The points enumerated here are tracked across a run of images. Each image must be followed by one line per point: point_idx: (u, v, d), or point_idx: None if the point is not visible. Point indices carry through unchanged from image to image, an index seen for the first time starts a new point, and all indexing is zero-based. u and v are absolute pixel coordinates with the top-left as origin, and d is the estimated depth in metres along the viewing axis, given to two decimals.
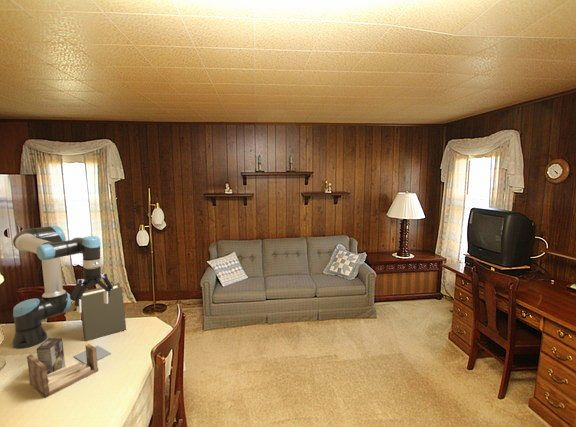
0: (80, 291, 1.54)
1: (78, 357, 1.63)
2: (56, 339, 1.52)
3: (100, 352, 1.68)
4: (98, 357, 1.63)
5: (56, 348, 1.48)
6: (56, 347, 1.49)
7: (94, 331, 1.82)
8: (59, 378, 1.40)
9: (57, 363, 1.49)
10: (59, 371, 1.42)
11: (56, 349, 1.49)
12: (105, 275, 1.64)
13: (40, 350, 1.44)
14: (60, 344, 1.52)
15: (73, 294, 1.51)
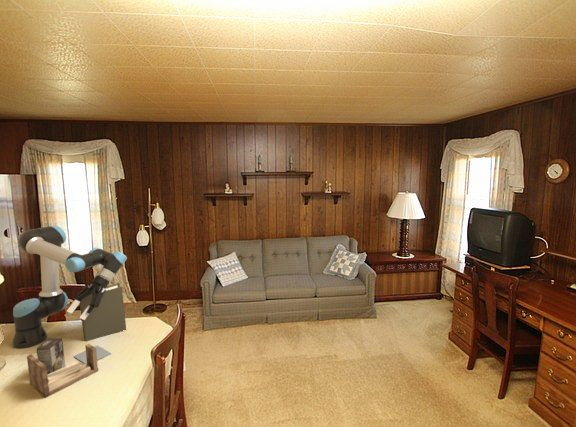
0: None
1: (78, 357, 1.63)
2: (56, 339, 1.52)
3: (100, 352, 1.68)
4: (98, 357, 1.63)
5: (56, 348, 1.48)
6: (56, 347, 1.49)
7: (94, 331, 1.82)
8: (59, 378, 1.40)
9: (57, 363, 1.49)
10: (59, 371, 1.42)
11: (56, 349, 1.49)
12: None
13: (40, 350, 1.44)
14: (60, 344, 1.52)
15: (98, 301, 1.57)
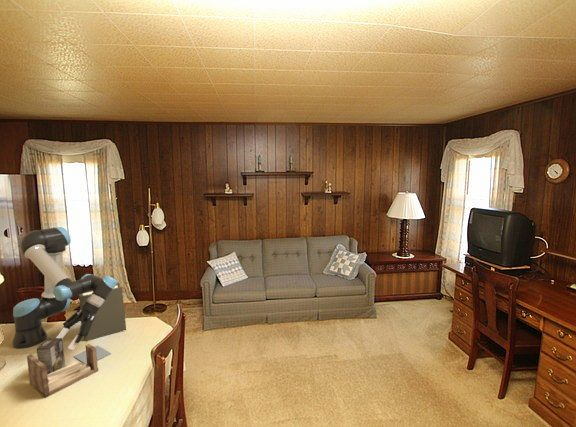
0: None
1: (78, 357, 1.63)
2: (56, 339, 1.52)
3: (100, 352, 1.68)
4: (98, 357, 1.63)
5: (56, 348, 1.48)
6: (56, 347, 1.49)
7: (94, 331, 1.82)
8: (59, 378, 1.40)
9: (57, 363, 1.49)
10: (59, 371, 1.42)
11: (56, 349, 1.49)
12: None
13: (40, 350, 1.44)
14: (60, 344, 1.52)
15: (87, 330, 1.53)
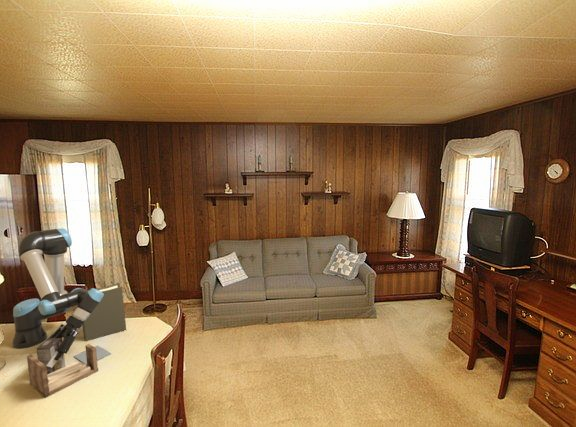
0: None
1: (78, 357, 1.63)
2: (56, 339, 1.52)
3: (100, 352, 1.68)
4: (98, 357, 1.63)
5: (56, 348, 1.48)
6: (56, 347, 1.49)
7: (94, 331, 1.82)
8: (59, 378, 1.40)
9: (57, 363, 1.49)
10: (59, 371, 1.42)
11: (56, 349, 1.49)
12: None
13: (40, 350, 1.44)
14: (60, 344, 1.52)
15: (67, 347, 1.48)
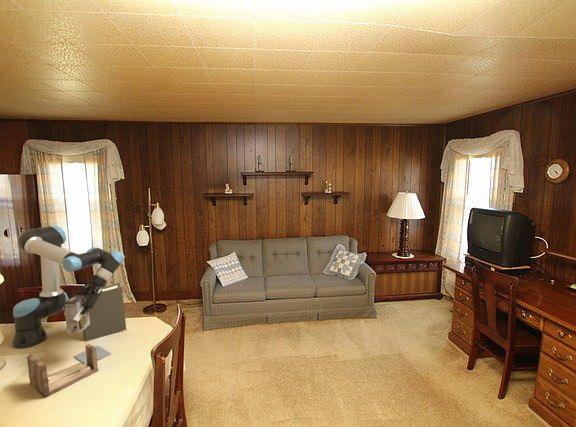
0: None
1: (78, 357, 1.63)
2: (81, 296, 1.59)
3: (100, 352, 1.68)
4: (98, 357, 1.63)
5: (81, 304, 1.56)
6: (82, 303, 1.56)
7: (94, 331, 1.82)
8: (59, 378, 1.40)
9: (83, 319, 1.57)
10: (59, 371, 1.42)
11: (82, 305, 1.56)
12: None
13: (67, 305, 1.52)
14: (85, 301, 1.59)
15: (92, 303, 1.55)
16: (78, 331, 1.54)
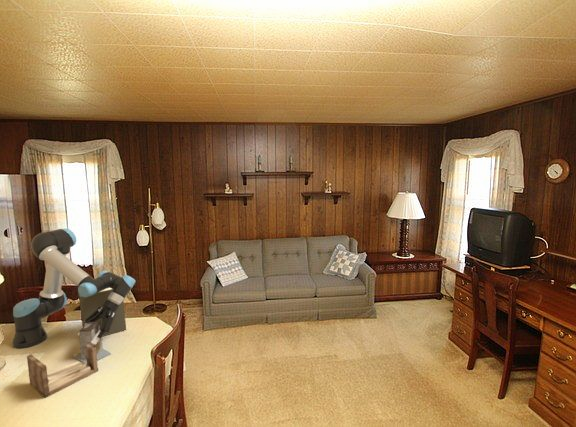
0: None
1: (78, 357, 1.63)
2: (95, 322, 1.67)
3: (100, 352, 1.68)
4: (98, 357, 1.63)
5: (96, 330, 1.63)
6: (96, 330, 1.64)
7: None
8: (59, 378, 1.40)
9: (96, 345, 1.64)
10: (59, 371, 1.42)
11: (96, 332, 1.64)
12: None
13: (82, 332, 1.59)
14: (99, 327, 1.67)
15: (108, 326, 1.63)
16: None
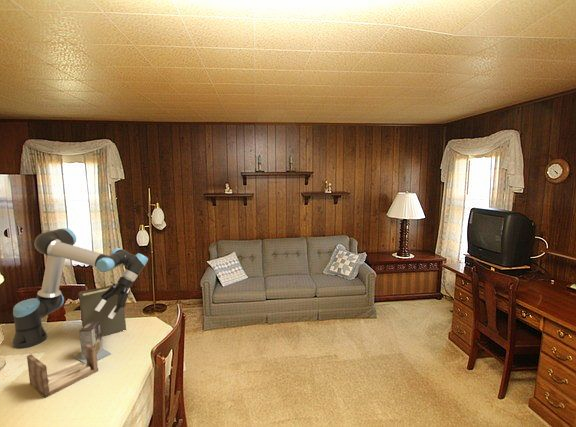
0: None
1: (78, 357, 1.63)
2: (95, 322, 1.67)
3: (100, 352, 1.68)
4: (98, 357, 1.63)
5: (96, 330, 1.63)
6: (96, 330, 1.64)
7: None
8: (59, 378, 1.40)
9: (96, 345, 1.64)
10: (59, 371, 1.42)
11: (96, 332, 1.64)
12: None
13: (82, 332, 1.59)
14: (99, 327, 1.67)
15: (124, 302, 1.69)
16: None
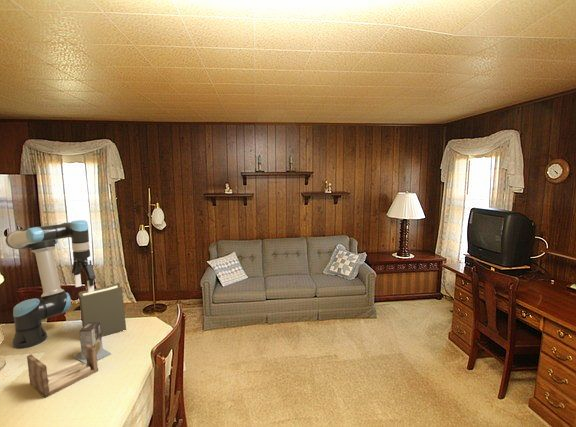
0: None
1: (78, 357, 1.63)
2: (95, 322, 1.67)
3: (100, 352, 1.68)
4: (98, 357, 1.63)
5: (96, 330, 1.63)
6: (96, 330, 1.64)
7: None
8: (59, 378, 1.40)
9: (96, 345, 1.64)
10: (59, 371, 1.42)
11: (96, 332, 1.64)
12: None
13: (82, 332, 1.59)
14: (99, 327, 1.67)
15: (92, 274, 1.60)
16: None
